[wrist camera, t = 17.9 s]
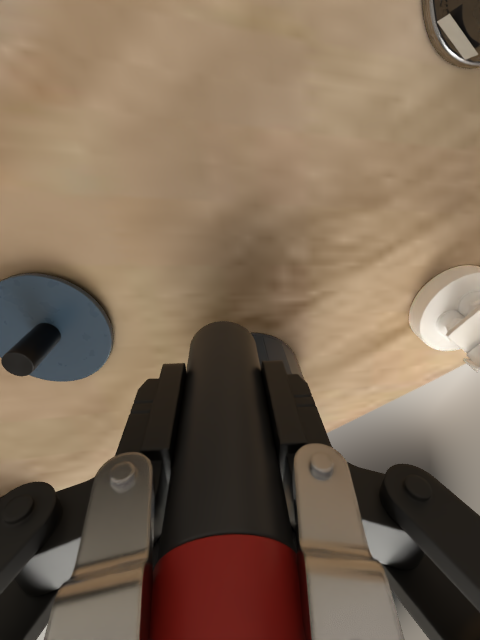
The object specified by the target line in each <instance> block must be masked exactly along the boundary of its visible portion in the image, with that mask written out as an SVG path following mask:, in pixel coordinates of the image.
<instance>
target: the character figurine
mask: <svg viewBox="0 0 480 640" xmlns="http://www.w3.org/2000/svg"><path fill="white" fill-rule="evenodd" d="M409 324H410V327H411V329H412V331H413V332H414V333H415V334H416V335H417V336H418V337H419V338H420V339H421V340H422V341H423V342H424V343H425V344H427V345H428V346H430V347H431V348H433V349H436V350H441V351H454V350H458V349H462V350H464V351H465V352H466V353H467V356H468V357H469V358H470V359H465V358H464V359H463V360H464V361H465V362H466V363H467V364H468V365H469V366H471V367H472V368H473V369H474V370H475V371H476V372H479V370H480V267H478V266H473V265H463V266H458V267H454V268H451V269H448V270H446V271H444V272H442V273H440V274H439V275H437V276H435V277H434V278H433V279H431V280H430V281H429V282H428V283H426V285H425V286H424V287H423V288H422V289H421V290H420V291H419V293H418V294H417V295H416V297H415V299H414V301H413V303H412V305H411V308H410V311H409Z"/></svg>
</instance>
